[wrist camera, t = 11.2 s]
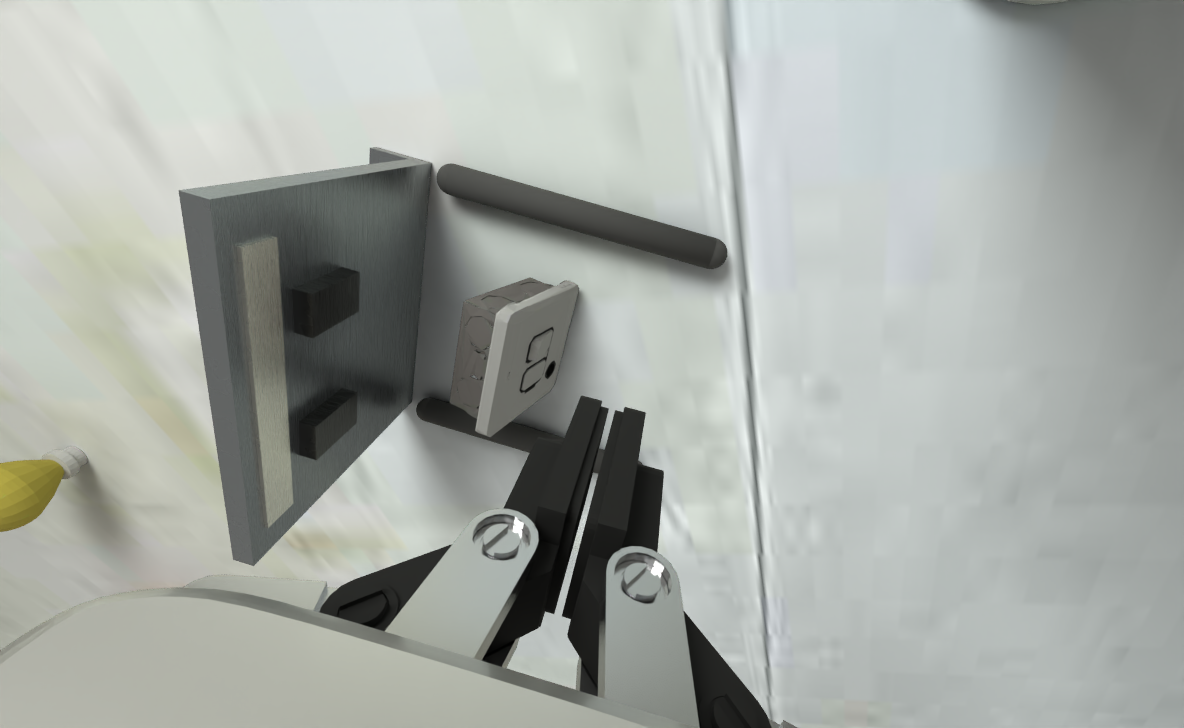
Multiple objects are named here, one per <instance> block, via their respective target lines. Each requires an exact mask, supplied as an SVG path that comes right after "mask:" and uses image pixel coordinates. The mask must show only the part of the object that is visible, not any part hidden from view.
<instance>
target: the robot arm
mask: <svg viewBox="0 0 1184 728" xmlns="http://www.w3.org/2000/svg"><path fill="white" fill-rule="evenodd" d="M1007 1H1010V2H1017V3H1024V4H1031V5H1037V4H1050V3H1061V2H1064V1H1068V0H1007ZM601 404H602V401H600V400H597V399H593V398H589V397H585V396H581V398H580V400H579V403H578V405H577V408H576V410H575V413H574V415H573V418H572V420H571V423H570V426H569V428H568V431H567V433H566V436H565V438H564V441H563V443H560V442H556V441H552V440H549V439H545V438H541V437H538V438H537V440H536V442H535V444H534V446H533V448H532V450H531V452H530V454H529V456H528V458H527V460H526V462H525V465H524V467H523V469H522V471H521V473H520V475H519V477H518V479H517V481H516V483H515V486H514V488H513V490H512V492H511V494H510V496H509V498H508V500H507V502H506V504H505V506H504V509H499V508H497V509H492V510H487V511H485V512H483V513H481V514H479V515H477V516H476V517H475V518H474V519H473V520H472V521H471V522H470V523H469V524H468V525H467V526H466V528H465V529H464V530H463V532H462V533H461V534H460V535H459V537H458V538H457V539H456V541H455V542H454V543H453V544H452V545H449V546H446V547H443V548H441V549H438V550H435V551H432V552H430V553H427V554H424V555H421V556H418V557H416V558H413V559H410V560H407V561H405V562H402V563H399V564H396V565H393V566H391V567H388V568H385V569H382V570H380V571H377V572H374V573H371V574H368V575H366V576H363V577H360V578H357V579H355V580H352V581H350V582H348V583H346V584H344V585H342V586H341V587H339V588H330V587H327V582H326V581H311V580H297V579H282V578H267V577H252V576H237V575H214V576H207V577H204V578H201V579H198V580H195V581H193V582H191V583H189V584H188V585H186V586H184V587H183V588H161V589H147V590H137V591H131V592H124V593H119V594H114V595H109V596H105V597H100V598H97V599H94V600H91V601H88V602H85V603H82V604H79V605H77V606H75V607H73V608H71V609H68V610H66V611H64V612H62V613H60V614H58V615H56V616H54V617H52V618H51V619H49V620H47V621H45V622H43V623H42V624H40V625H38V626H37V627H35V628H33V629H32V630H30V631H29V632H27V633H25V634H24V635H22V636H21V637H19V638H18V639H16V640H15V641H13V642H12V643H10V644H9V645H7V646H6V647H5V648H3V649H2V650H0V728H797V727H795V726H793V725H792V724H790V723H788V722H786V721H784V720H783V722H782V723H781V725H779V724H777V723H776V722H774V721H772V720H770V719H768V717H767V715H766V713H765V712H764V710H763V709H762V707H761V705H760V704H759V702H758V701H757V700H756V699H755V697H754V696H753V695H752V694H751V692H750V691H749V690H748V689H747V688H746V686H745V685H744V684H743V683H742V681H741V680H740V679H739V678H738V677H737V675H736V674H735V673H734V672H733V670H732V669H731V668H730V667H729V666H728V664H727V663H726V662H725V661H724V659H723V658H722V657H721V656H720V655H719V653H718V652H717V651H716V650H715V648H714V647H713V646H712V645H711V644H710V642H709V641H708V640H707V639H706V637H705V636H704V635H703V634H702V633H701V631H700V630H699V629H698V628H697V626H696V625H695V624H694V623H693V622H692V620H691V619H690V618H689V617H688V615H687V614H686V613H685V612H684V611H683V603H682V596H681V589H680V582H679V579H678V576H677V572H676V571H675V569H674V568H673V566H672V565H671V563H670V562H669V561H668V560H667V559H665V558H664V557H663V556H662V555H661V554H659V553H657V549H658V537H659V525H660V513H661V501H662V490H663V478H664V472H663V471H662V470H659V469H655V468H651V467H648V466H644V465H640V464H638V458H639V451H640V445H641V439H642V433H643V426H644V420H645V414H646V413H645V412H642V411H638V410H634V409H631V408H627V407H625V408H624V412H620V411H616V410H615V414H614V417H613V421H612V425H611V429H610V433H609V436H608V440H607V444H606V448H605V452H604V456H603V459H602V463H601V467H600V471H599V475H598V478H597V482H596V486H595V490H594V494H593V498H592V501H591V505H590V509H589V513H588V517H587V521H586V524H585V528H584V532H583V536H582V540H581V544H580V548H579V552H578V555H577V559H576V563H575V567H574V571H573V575H572V579H571V583H570V587H569V590H568V594H567V598H566V602H565V606H564V610H563V614H562V617H566V618H569V619H571V622H570V626H569V630H568V634H567V635H568V638H569V640H570V642H571V643H572V645H573V647H574V648H575V650H576V651H577V653H578V655H579V660H578V665H577V676H576V690H575V689H571V688H568V687H565V686H562V685H558V684H555V683H552V682H549V681H545V680H542V679H539V678H536V677H532V676H529V675H526V674H523V673H519V672H516V671H513V670H510V669H506V668H507V666H508V664H509V662H510V660H511V658H512V656H513V654H514V652H515V650H516V648H517V645H518V641H519V638H520V637H522V636H524V635H526V634H528V633H529V632H531V631H533V630H535V629H537V628H538V627H540V626H541V623H542V620H543V616H544V613H545V611H546V612H549V613H552V614H554V613H555V609H556V605H557V602H558V598H559V595H560V591H561V587H562V584H563V580H564V577H565V573H566V569H567V566H568V562H569V559H570V555H571V551H572V548H573V544H574V541H575V537H576V533H577V530H578V526H579V523H580V519H581V515H582V512H583V508H584V505H585V501H586V497H587V493H588V490H589V486H590V482H591V478H592V474H593V470H594V466H595V462H596V458H597V454H598V450H599V446H600V442H601V438H602V434H603V430H604V426H605V422H606V418H607V414H608V409H609V408H605V407H601Z"/></svg>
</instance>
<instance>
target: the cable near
mask: <svg viewBox="0 0 1184 728" xmlns="http://www.w3.org/2000/svg"><path fill="white" fill-rule="evenodd" d="M437 183H438V186H439V187H440V189H441V190H442V191H443V192H445V193H446V194H449V195H452V196H455V197H459V198H462V199H466V200H469V201H473V202H476V203H480V204H483V205H487V206H490V207H494V208H497V209H501V210H504V211H508V212H511V213H515V214H518V215H522V216H525V217H529V218H532V219H536V220H539V221H543V222H546V223H550V224H553V225H557V226H560V227H564V228H567V229H571V230H574V231H578V232H581V233H585V234H588V235H592V236H595V237H599V238H602V239H606V240H609V241H613V242H616V243H620V244H623V245H627V246H630V247H634V248H637V249H641V250H644V251H648V252H651V253H655V254H658V255H661V256H665V257H668V258H672V259H675V260H679V261H682V262H686V263H689V264H693V265H696V266H700V267H703V268H707V269H714V268H717V267H719V266H721V265H722V264H723V263H724V261H725V260H726V257H727V248H726V246H725V244H724V243H723V242H722V241H721V240H719V239H717V238H713V237H710V236H706V235H703V234H699V233H696V232H692V231H688V230H685V229H681V228H678V227H674V226H671V225H667V224H664V223H660V222H657V221H653V220H650V219H646V218H643V217H639V216H636V215H632V214H629V213H625V212H621V211H618V210H614V209H611V208H607V207H604V206H600V205H597V204H593V203H590V202H586V201H583V200H579V199H576V198H572V197H569V196H565V195H562V194H558V193H554V192H551V191H547V190H544V189H540V188H537V187H533V186H530V185H526V184H523V183H519V182H516V181H512V180H509V179H505V178H502V177H498V176H495V175H491V174H487V173H484V172H480V171H477V170H473V169H470V168H466V167H463V166H459V165H456V164H446V165H444V166H442V167H441V168H440V169H439V171H438V173H437Z"/></svg>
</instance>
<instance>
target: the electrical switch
mask: <svg viewBox="0 0 1184 728" xmlns="http://www.w3.org/2000/svg"><path fill="white" fill-rule="evenodd" d="M578 291H579V287H578V285H577V284H575V283H572V282H570V281H563V282H562V283H560V284H559V285H557V286H553V285H550V284H544V283H542V282H540V281H537V280H535V279H533V278H527V279H525V280H522V281H519V282H516V283H513V284H510V285H508V286H505V287H502V288H499V289H496V290H493V291H490V292H488V293H485V294H482V295H479V296H476V297H473V298H471V299H468V300H465V301H467V302H469V303H467V302H463V309H462V316H461V324H460V331H459V338H458V345H457V352H456V359H455V366H454V373H453V380H452V388H451V395H450V402H449V403H451V404H453V405H455V406H457V407H459V408H461V409H463V410H465V411H466V412H467V413H468V414H469V415H470V416H472V417H474V418H476V419H477V423H476V429H475V431H476V432H478V433H480V434H482V435H485V436H488V437H491V436H492V435H494V434H495V433H496V432H498V431H499V430H500V429H502V428H503V427H504V426H506V425H507V424H508V423H509V422H511V421H512V420H513V419H515V418H516V417H517V416H519V415H520V414H521V413H522V412H524V411H525V410H526V409H528V408H529V407H530V406H532V405H533V404H534V403H536V402H537V401H538V400H539V399H541V398H542V397H543V396H545V395H546V394H547V393H549V392H550V391H551V389H552V388H553V386H554V384H555V381H556V377H557V374H558V370H559V366H560V362H561V358H562V354H563V350H564V346H565V342H566V338H567V335H568V331H569V327H570V323H571V319H572V315H573V311H574V307H575V303H576V299H577V295H578ZM526 293H527V294H526ZM470 303H471V304H470ZM472 304H473V305H472ZM474 305H475V306H474ZM476 306H477V307H476ZM478 307H479V308H478ZM490 324H491V325H492V326H493V327H492V326H491V325H490ZM465 326H466V327H465ZM473 344H474V345H475V346H474V345H473ZM489 346H490V347H489ZM487 347H489V348H488V349H487ZM485 356H486V358H485ZM472 375H475V376H476V377H477V379H475V378H472V377H470V376H472ZM457 391H458V392H457Z"/></svg>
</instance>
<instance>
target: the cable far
mask: <svg viewBox="0 0 1184 728" xmlns="http://www.w3.org/2000/svg"><path fill="white" fill-rule="evenodd" d="M416 412H417V415H418V417H419V418H420V419H422V420H424V421H427V422H430V423H433V424H437V425H440V426H443V427H446V428H450V429H453V430H456V431H460V432H463V433H466V434H470V435H473V436H476V437H479V438H483V439H486V440H489V441H493V442H496V443H499V444H502V445H506V446H509V447H512V448H516V449H519V450H522V451H526V452H529V453H530V452H531V450H532V448H533V446H534V444H535V442H536V440H537V438H538V437H541V438H545V439H549V440H552V441H556V442H560V443H563V441H564V438H563V437H559V436H556V435H553V434H549V433H546V432H543V431H540V430H536V429H533V428H530V427H526V426H523V425H520V424H516V423H513V422H509V423H508V424H507V425H506V426H504V427H503V428H502V429H500V430H499V431H498V432H496V433H495V434H494V435H492V436H491V437H488V436H485V435H482V434H480V433H478V432H476V431H475V429H476V423H477V419H476V418H474V417H472V416H470V415H469V414H468V413H467V412H466V411H465V410H463V409H461V408H459V407H457V406H455V405H453V404H450V403H447V402H443V401H440V400H437V399H433V398H425V399H423V400H421V401H420V402H419V403H418V405H417V408H416ZM604 452H605V450H603V449H599V450H598V454H597V458H596V462H595V466H594V470H593V472H595V473H598V474H599V471H600V467H601V463H602V459H603V456H604ZM638 464H640V465H642V463H641V462H640V461H638Z"/></svg>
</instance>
